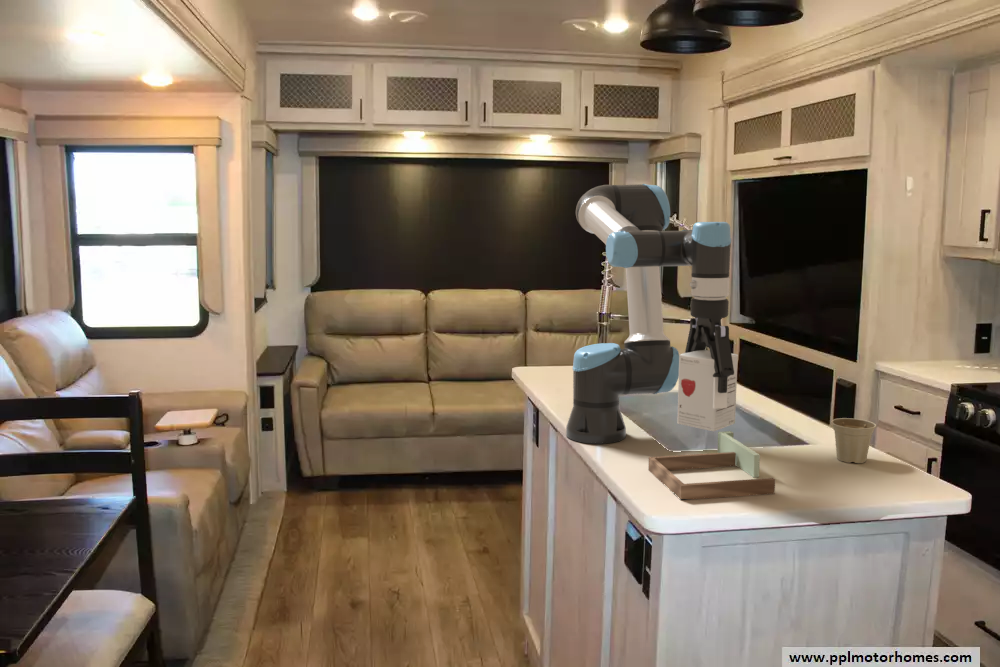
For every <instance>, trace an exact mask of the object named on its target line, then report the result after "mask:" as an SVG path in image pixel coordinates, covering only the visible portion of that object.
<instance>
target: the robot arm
mask: <svg viewBox="0 0 1000 667" xmlns="http://www.w3.org/2000/svg"><path fill="white" fill-rule="evenodd" d="M670 206H671V205H670V201H669V197H668V196H667V193H666V192H665V190H664V189H663V188H662V187H661V186H660V185H655V184H647V183H642V184H603V185H598V186H595V187H593V188H591V189H589V190H587V191H586V192H585V193H584V194H582V196H581V197H580V198H579V199H578V202H577V204H576V208H575V216H576V220H577V222H578V224H579V225H580V227H581V228H582V229H583V230H585V231H586V232H588V233H590V234H594V235H595V236H596V237H597V238H598V239H599V240H601V242H603V243H604V245H605V256H606V259H607V262H608V264H609V266H611V267H612V268H613V267H614V268H615V267H616V268H624V269H625V279H626V280H625V281H626V294H627V295H626V296H627V298H626V299H627V309H628V311H627V312H628V313H627V314H628V328H629V329H628V330H629V334H628V335H629V336H628V337H627V339H625V340H624V342H623V343H624V344H623V346H624V348H621V347H620V344H618V343H613V342H607V343H605V342H602V343H594V344H590V345H584V346H583V347H579V348H578V349H576V351H575V352H574V353H573V354H574V355H573V363H572V364H573V365H572V371H573V373H572V374H573V375H572V376H573V380H572V381H573V384H572V388H573V390H572V392H573V393H572V394H573V396H572V397H573V398H572V399H573V401H572V404H573V406H572V409H571V412H570V414H569V418H568V421H567V424H566V427H565V428H566V432H565V434H566V437H567V438H568V439H570V440H572V441H575V442H578V443H584V444H597V445H598V444H599V445H601V444H612V443H617V442H618V443H619V442H621V441H623V440H625V439H626V436H627V429H626V425H625V424H626V423H625V421H624V418H623V415H622V411H621V407H620V396H624V395H628V396H629V395H650V394H651V395H657V394H662V393H665V394H666V393H669V392H671V391H672V390H674V388H675V387H676V385H677V383H678V382H679V355H680V352H679V350H678V349H677V348H676V347H674V346H671V338H669V337H668V336H667V335H666V334H665V333H664V320H663V307H662V306H663V305H662V288H661V272H660V270H661V269H660V267H686V266H687V267H691V281H690V282H689V287H690V288H691V291H690V292H691V293H690V295H691V296H692V298H691V300H690V316H691V317H692V318H690V322H689V324H690V325H689V332H688V336H687V342H686V345H685V346H686V347H685V350H684V353H688V352H693V351H699V350H706V348H708V350H710V353H711V357H712V359H714V369H715V373H714V374H713V377H714V379H713V408H714V409H717V408H727V390H728V377H729V376H730V375H734V368H733V361H732V355H731V354H732V350H731V341H730V327H729V326H728V325H722V319H726V318H728V317H729V316H728V315H729V305H730V304H729V303H730V302H729V299H727V297H729V295H730V265H731V264H730V263H731V247H732V245H731V243H732V236H731V233H732V232H731V225H730V224H729V222H727V221H698V222H695V223H694V224H693V225H692V229H682V230H666V229H667V228H668V227H669V225H670V221H671V219H670V217H671V207H670ZM693 297H694V298H693Z"/></svg>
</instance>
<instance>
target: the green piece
mask: <svg viewBox="0 0 1000 667" xmlns="http://www.w3.org/2000/svg"><path fill="white" fill-rule="evenodd" d="M716 450H717V451H716V453H724V452H735V453H736V463H735V467H738V468H739V469H741V470H742V471H743V472H744V473H747V474H748V475H749V476H750V477H752V478H753V479H756V478H759V477H760V461H761V460H760V459H761V458H760V456H761V455H760V454H759V453H758V452H756V451H755V450H754V449H752V448H750V447H748V446H746V445H745V444H743V443H742V442H740V441H739V440H738V439H736V438H734V432H733V431H732V430H728V431H718V432H717V449H716Z"/></svg>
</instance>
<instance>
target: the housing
mask: <svg viewBox="0 0 1000 667" xmlns="http://www.w3.org/2000/svg"><path fill="white" fill-rule="evenodd" d="M735 463H736V453H735V452H724V453H718V452H709V453H694V454H678V455H662V456H660V455H659V456H648V471H649V472H650V473H651V474H652V475H653V476H654V477H655V478H656V479H657V480H659V481H660V482H661V483H662V484H663V485H664V484H665V485H666V486H667V487H668V488H669V489H670V490H671V491H672V492H674V493H675V494H676V495H677V496H678V497H679V498H680V499H692V500H704V499H706V498H707V499H716V498H717V499H719V498H731V497H732V498H734V497H746V496H761V495H762V496H763V495H775V493H776V479H775V478H774V477H768V478H765V477H764V478H753V479H739V480H738V479H737V480H723V481H722V480H720V481H706V482H704V481H703V482H692V483H690V482H689V483H684V482H683V481H681V480H680V479H679V478H678V477H677V476H676V475H675V474H674V473H672V472H671V471H679V470H695V469H696V470H697V469H711V468H725V467H727V468H729V467H736V465H735ZM665 485H664V486H665ZM666 486H665V487H666ZM667 487H666V488H667ZM668 488H667V489H668ZM669 489H668V490H669ZM670 490H669V491H670ZM671 491H670V492H671ZM672 492H671V493H672ZM675 494H674V495H675ZM676 495H675V496H676ZM677 496H676V497H677ZM678 497H677V498H678ZM679 498H678V499H679ZM680 499H679V500H680ZM707 499H706V500H707Z"/></svg>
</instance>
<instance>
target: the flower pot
mask: <svg viewBox="0 0 1000 667" xmlns="http://www.w3.org/2000/svg"><path fill="white" fill-rule="evenodd" d="M830 422H831V423H830V424H832V429H833V431H834V438H835V450H836V451H835V452H836V453H835V454H836V458H837V460H838V461H841V462H844V463H855V464H862V463H866V461H867V460H868V459H867V458H868V453H869V448H870V444H871V441H872V440H871V439H872V436H873V434H874V431H875V429H876V428H877V424H876V423H875V422H872V421H869V420H866V419H859V418H852V417H851V418H849V417H848V418H847V417H842V418H841V417H840V418H834V419H832V420H831V421H830Z"/></svg>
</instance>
